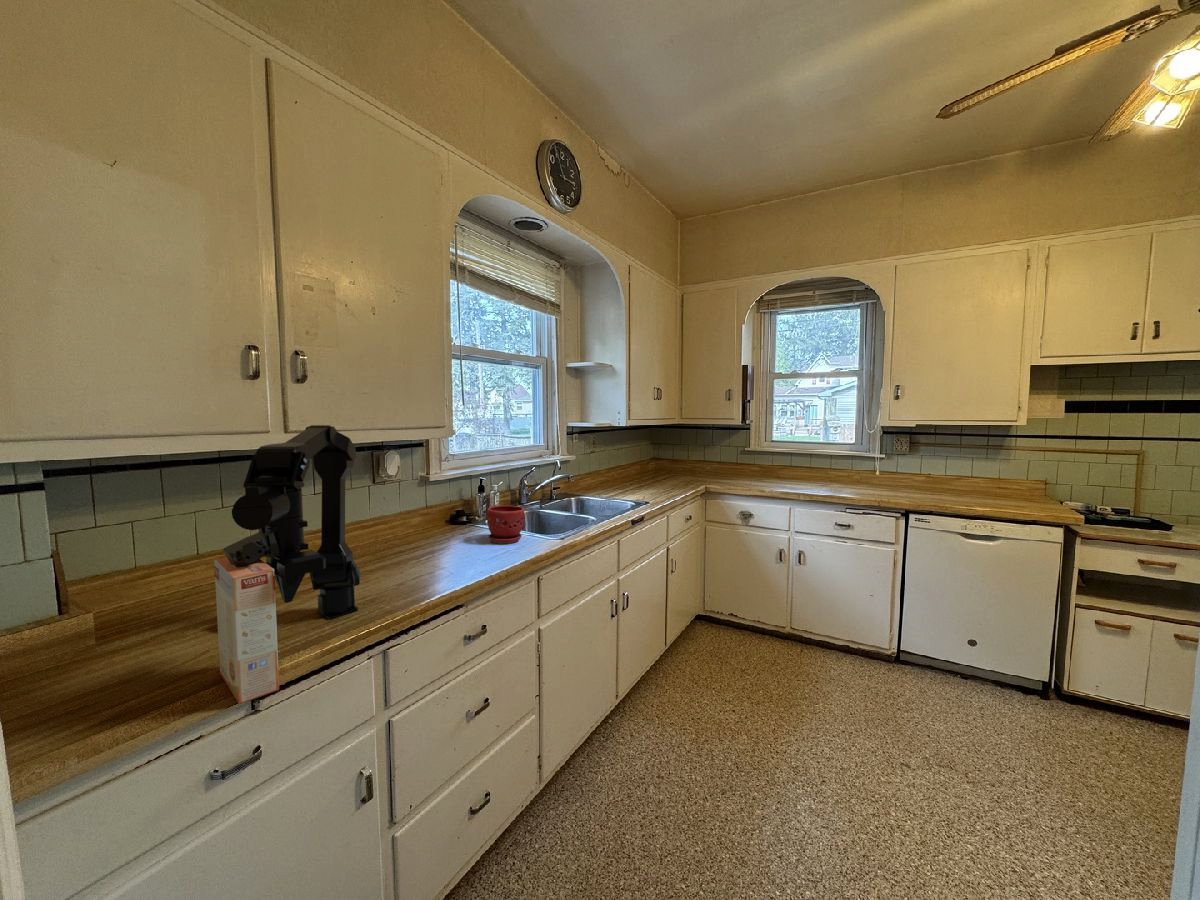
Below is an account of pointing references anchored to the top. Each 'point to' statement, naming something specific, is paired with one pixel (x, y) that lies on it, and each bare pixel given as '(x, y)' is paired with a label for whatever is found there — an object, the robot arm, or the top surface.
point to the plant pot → (505, 523)
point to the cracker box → (247, 628)
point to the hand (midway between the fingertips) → (287, 601)
